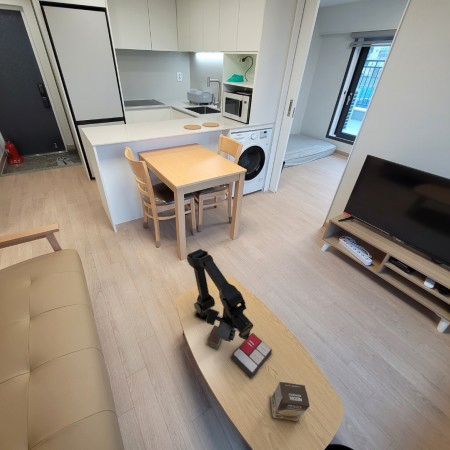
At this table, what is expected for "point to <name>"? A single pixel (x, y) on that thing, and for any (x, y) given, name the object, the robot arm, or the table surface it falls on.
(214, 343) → the walnut block
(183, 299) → the table surface
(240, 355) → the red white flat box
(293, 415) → the coffee box
